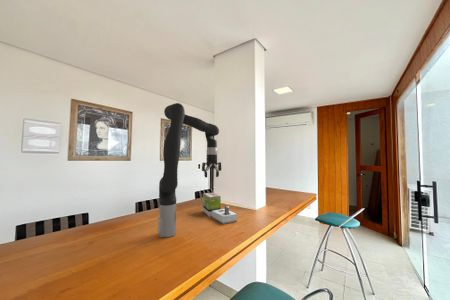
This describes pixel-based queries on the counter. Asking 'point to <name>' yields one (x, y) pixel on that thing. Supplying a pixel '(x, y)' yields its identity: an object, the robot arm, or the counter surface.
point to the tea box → (211, 203)
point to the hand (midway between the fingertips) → (211, 177)
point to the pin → (226, 210)
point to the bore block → (224, 216)
